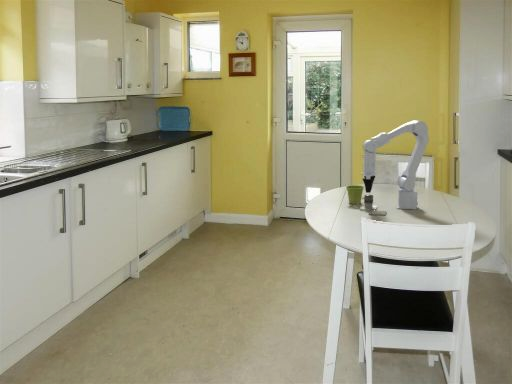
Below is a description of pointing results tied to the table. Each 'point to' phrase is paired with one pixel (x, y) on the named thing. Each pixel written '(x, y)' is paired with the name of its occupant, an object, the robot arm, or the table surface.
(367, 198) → the dark grey rounded piece
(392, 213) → the table surface
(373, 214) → the coaster
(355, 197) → the plant pot
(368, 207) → the grey square holder
